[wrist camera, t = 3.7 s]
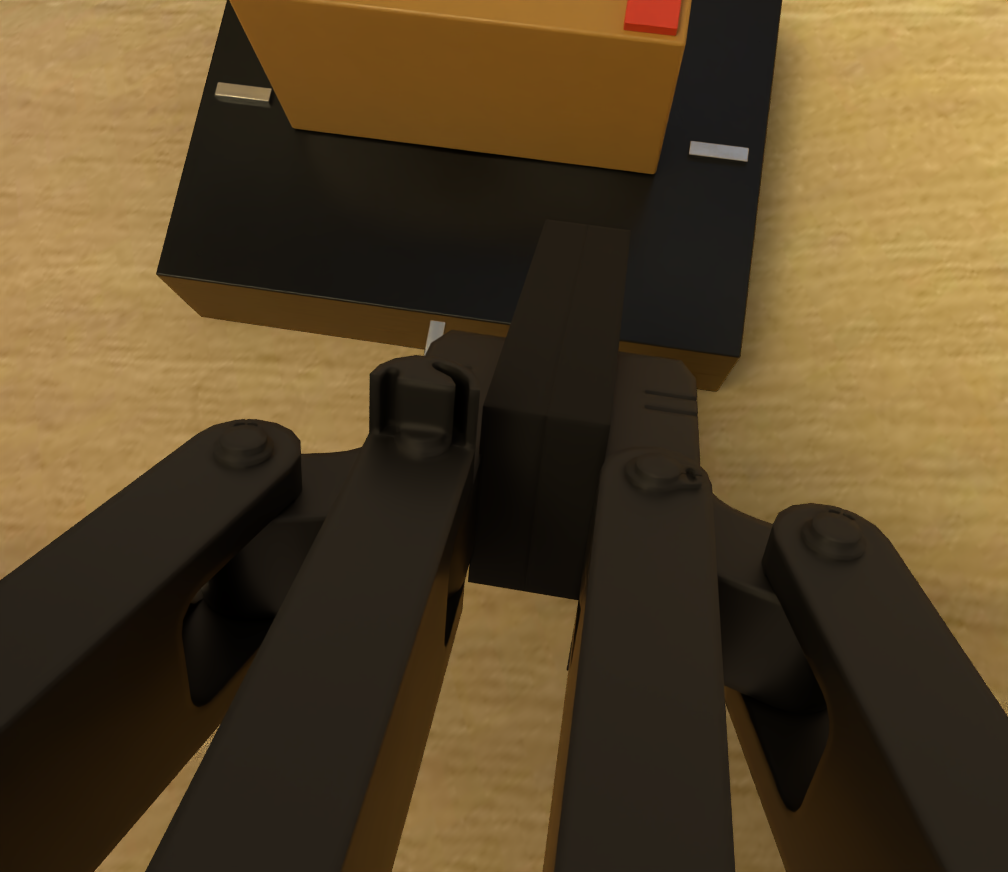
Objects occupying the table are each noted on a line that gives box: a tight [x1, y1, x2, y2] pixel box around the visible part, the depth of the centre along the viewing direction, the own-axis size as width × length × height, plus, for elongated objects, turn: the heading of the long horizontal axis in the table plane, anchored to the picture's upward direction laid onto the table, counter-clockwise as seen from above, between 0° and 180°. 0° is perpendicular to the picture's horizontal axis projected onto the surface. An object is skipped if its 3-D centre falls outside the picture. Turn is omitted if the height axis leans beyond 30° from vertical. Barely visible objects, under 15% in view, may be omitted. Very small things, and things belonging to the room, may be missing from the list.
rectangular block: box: [229, 0, 692, 174], centre depth 20 cm, size 9×2×5 cm, turn 81°
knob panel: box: [156, 0, 782, 391], centre depth 24 cm, size 14×13×3 cm
